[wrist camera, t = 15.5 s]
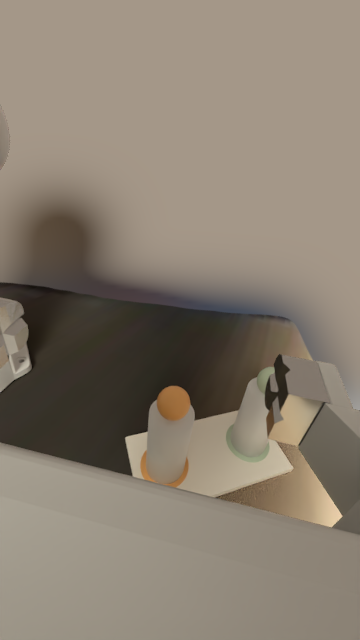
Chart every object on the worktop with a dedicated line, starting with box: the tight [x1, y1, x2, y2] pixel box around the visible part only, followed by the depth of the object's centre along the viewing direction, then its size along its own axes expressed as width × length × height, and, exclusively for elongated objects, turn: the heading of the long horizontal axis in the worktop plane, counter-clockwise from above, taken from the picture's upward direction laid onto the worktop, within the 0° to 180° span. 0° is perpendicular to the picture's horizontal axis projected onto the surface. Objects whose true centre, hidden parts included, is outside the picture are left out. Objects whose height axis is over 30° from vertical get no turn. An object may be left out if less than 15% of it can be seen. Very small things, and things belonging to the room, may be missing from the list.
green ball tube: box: [230, 367, 275, 457], centre depth 35 cm, size 5×5×13 cm
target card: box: [125, 410, 293, 497], centre depth 37 cm, size 10×20×1 cm, turn 109°
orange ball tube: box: [146, 386, 195, 484], centre depth 31 cm, size 5×5×13 cm
